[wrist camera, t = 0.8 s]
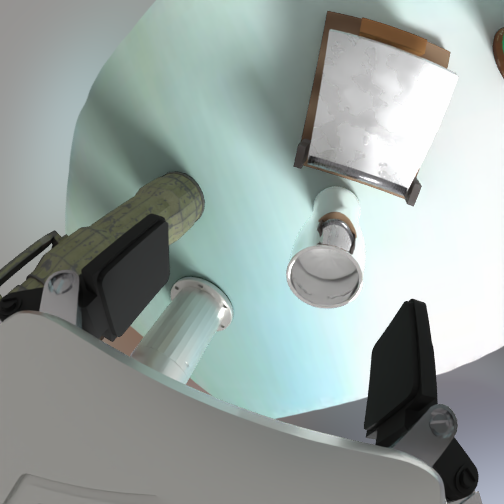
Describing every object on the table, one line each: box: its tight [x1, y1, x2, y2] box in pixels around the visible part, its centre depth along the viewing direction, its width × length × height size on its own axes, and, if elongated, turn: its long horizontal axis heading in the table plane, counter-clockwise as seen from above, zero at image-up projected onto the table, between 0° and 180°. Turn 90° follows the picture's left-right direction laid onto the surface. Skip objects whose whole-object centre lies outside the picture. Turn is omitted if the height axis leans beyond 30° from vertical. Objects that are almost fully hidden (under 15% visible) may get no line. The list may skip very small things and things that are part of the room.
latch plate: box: [294, 11, 450, 206], centre depth 25 cm, size 19×14×6 cm
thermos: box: [0, 172, 205, 341], centre depth 29 cm, size 9×12×35 cm
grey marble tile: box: [308, 29, 458, 196], centre depth 22 cm, size 15×11×2 cm
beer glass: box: [286, 186, 366, 309], centre depth 30 cm, size 7×7×15 cm
